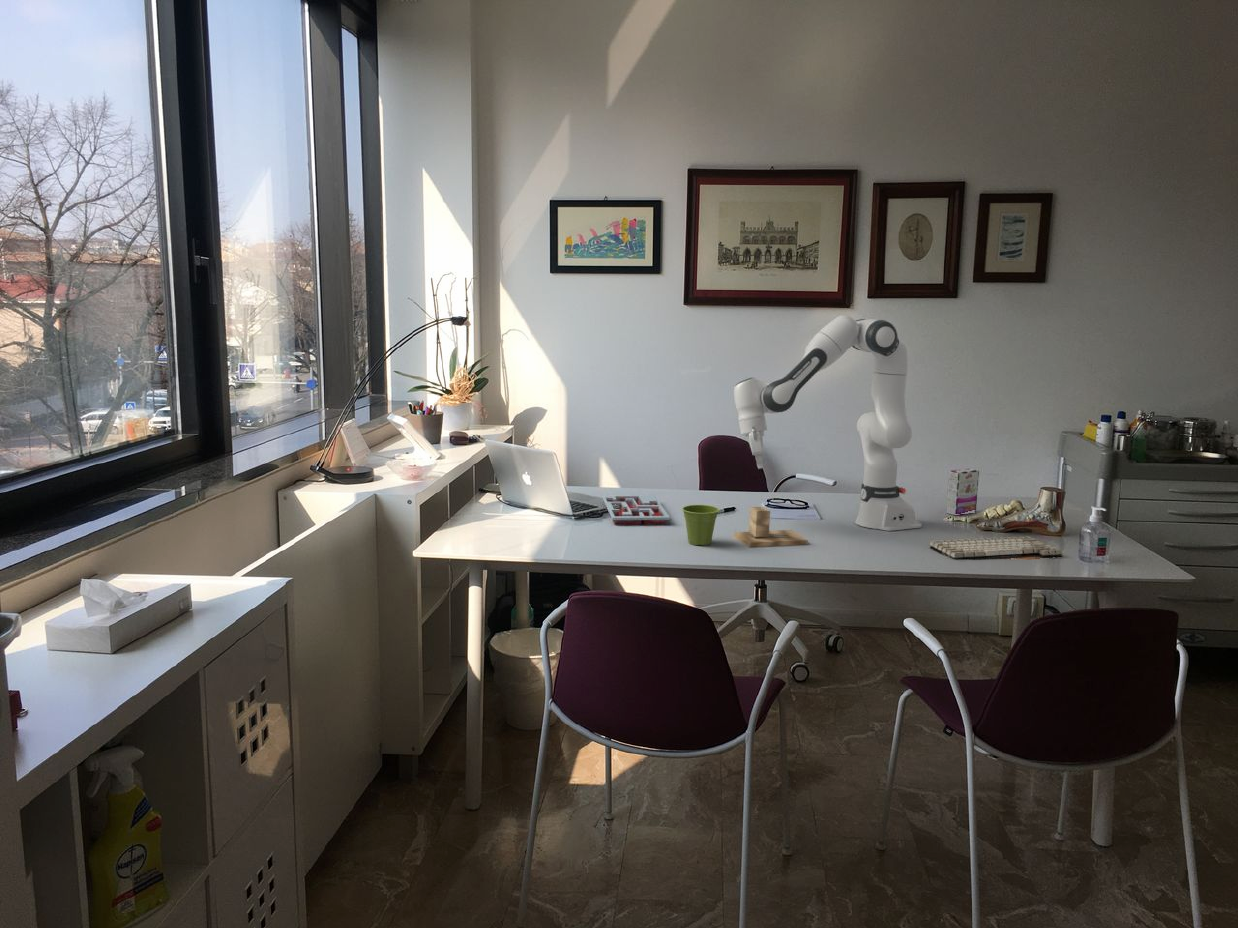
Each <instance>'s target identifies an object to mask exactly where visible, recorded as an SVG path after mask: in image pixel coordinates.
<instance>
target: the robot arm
mask: <svg viewBox="0 0 1238 928" xmlns="http://www.w3.org/2000/svg"><path fill="white" fill-rule="evenodd" d="M851 348H853V349H856V350H857V351H862V352H867V353H872V356H873V359H874V361H873V362H874V364H873V371H872V379H871V390H870V395H871V396H870V397H871V398H872V401H873V404H874V410H875V411H868V412H865V413H863V414H861V416H860V417H859V418H858V420H857V422H856V430H857V433H858V435H859V437H860V441H861V447H862V453H863V454H862V455H863V478H862V483H861V488H860V504H859V508H858V509H859V510H858V513H857V517H856V519H855V524H856V525H857V526H860V527H864V528H868V529H869V528H870V529H874V530H881V531H882V530H883V531H888V532H892V531H894V532H895V531H901V530H908V529H910V530H911V529H920V528H922V523H921V522H920V521H918V520H916V513H915V512H916V511H915V509H914V507H912V505H911V504H909V503H908V502H907V501H906V500H905V499H903V497H901V496H900V493H901V494H903V495H904V494H906V491H907V489H906V488H905V487H902V486H900V487H899V486H898V485H897V476H898V475H897V473H898V462H897V460H896V458H895V454H894V449H900V448H903V447H905V446H906V445H908V444H909V443H910V441H911V439H912V436H913V435H912V434H913V433H912V428H911V425H910V424H909V422H908V418H907V417H908V416H907V411H906V403H905V399H906V398H905V393H906V383H907V377H908V376H907V374H908V350H907V347H906V345H905V344H904V343H903V342H901V341H900V340H899V338H898V331H897V329H896V327H895V326H894V325H893V323H891V322H889V321H887V320H885V319H878V318H868V319H865V318H860V319H857V320H855V319H854V318H853V317H850V316H849V315H845V314H841V315H839V316H837V317H835V318H834V319H832V320H831V321H829V323H827V324H826V325H824V326H823V328H821V329H820V330H819V331H818V332H817V333H816V334H815V335H814V336H813V337H812V338H811V340H810V341H809V343H808V344H807V345H806V347H805V350H804V355H803V357H802V358H801V360H800V361H799V362H798V363H797V364H796V365H795V366H794V367H793V368H792V369H791V370H790V371H789V372H788V373H787V374H786V375H785V376H783V378H780V379H777V380H775V381H772V382H771V383H770V382H769V383H768V382H765V381H763V380H762V381H761V380H759V379H757V378H755V377H750V378H746V379H743V380H742V381H739V382H738V383H736V384H735V385H734V388H733V398H734V399H733V400H734V406H735V408H736V409H735V410H736V411H737V414H738V416H737V417H738V418H737V420H738V421H737V422H738V426H739V431H740V435H742V436H743V435H744V439H745V440H748V444H749V448H750V450H751V453H752V456H754V457H755V461H756V466H757V469H758V470H759V469H760V470H761V469H763V468H764V464H763V463H764V462H763V456H762V454H764V443H763V441H764V440H763V439H764V438H763V436H765V431H767V430H768V428H767V421H766V416H765V414H767V413H768V414H778V413H779V414H780V413H784V412H786V411H788V410H790V409H791V408H792V406H793V405H794V403H795V402H796V401H795V400H796V398H797V395H798V393H799V391H800V390H801V389H802V388H804V386H805V385H806V384H807V383H808V382H809V381H810V379H812V378H813V377H814V376H815V375H816V374H817V373H819V372H820V371H822V370H825V369H827V368H829V367H830V366H832V364H834V363H835V362H837V361H838V360H839V359H840V358H841V357H842V356H843V355H844V354H845V353H846V352H847V351H848V350H849V349H851Z"/></svg>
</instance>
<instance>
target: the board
mask: <svg viewBox="0 0 1238 928" xmlns="http://www.w3.org/2000/svg"><path fill="white" fill-rule="evenodd" d="M733 534H734V535H733V537H734V538H735V539H736V540H737V541H739V542H741V543H742V544H744V545H745V546H747V547H748V548H761V547H762V548H763V547H764V548H766V547H785V546H805V545H808V543H809V540H808V539H807V538H806V537H803V536H802V535H800V534H798V533H797V532H795V531H793V530H791V529H785V530H783V529H781V530H769V538H754V537H752V536H751V535H749V531H737V532H736V531H735V532H734V533H733Z"/></svg>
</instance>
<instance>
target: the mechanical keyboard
mask: <svg viewBox="0 0 1238 928" xmlns="http://www.w3.org/2000/svg"><path fill="white" fill-rule="evenodd" d="M929 547H930V548H929V549H931V550H932V551H934V552H935V553H938V554H941V555H942V556H944V557H945V556H946V557H948V558H950V559H951V560H952V559H953V560H965V561H967V560H968V561H984V560H985V561H989V560H991V561H992V560H1007V559H1009V560H1011V558H1014V559H1015V558H1016V559H1018V558H1019V559H1026V560H1041V559H1040V558H1049V559H1054V558H1053V557H1064V556H1063V553H1062V550H1061V549H1057V548H1056V547H1054V546H1051V545H1048V544H1046V543H1044V542H1041V541H1039V540H1037V539H1036V538H1034V537H1031V536H1011V537H1009V536H1005V537H1002V536H1001V537H984V538H982V537H981V538H980V537H979V538H971V539H970V538H964V539H962V538H959V539H951V540H949V539H944V540H942V539H938V540H930V543H929ZM1019 559H1018V561H1020V560H1019ZM1007 561H1008V560H1007Z"/></svg>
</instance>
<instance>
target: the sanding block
mask: <svg viewBox="0 0 1238 928" xmlns="http://www.w3.org/2000/svg"><path fill="white" fill-rule="evenodd" d="M770 522H771V510H770V509H769V508H766V506H750V508H749V525H748V527H749V528H748V532H749V535H751V536H752V537H754V538H769V531H770Z"/></svg>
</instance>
